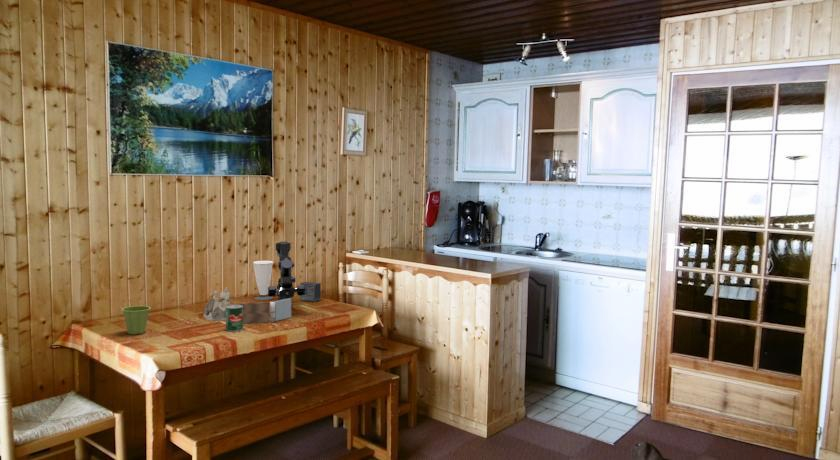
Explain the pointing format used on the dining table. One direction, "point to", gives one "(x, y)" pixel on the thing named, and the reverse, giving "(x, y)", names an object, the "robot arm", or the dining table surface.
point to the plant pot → (136, 318)
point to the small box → (311, 292)
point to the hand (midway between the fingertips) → (287, 304)
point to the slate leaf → (281, 309)
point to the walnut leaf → (257, 313)
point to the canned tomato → (234, 317)
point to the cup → (263, 278)
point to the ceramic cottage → (217, 306)
